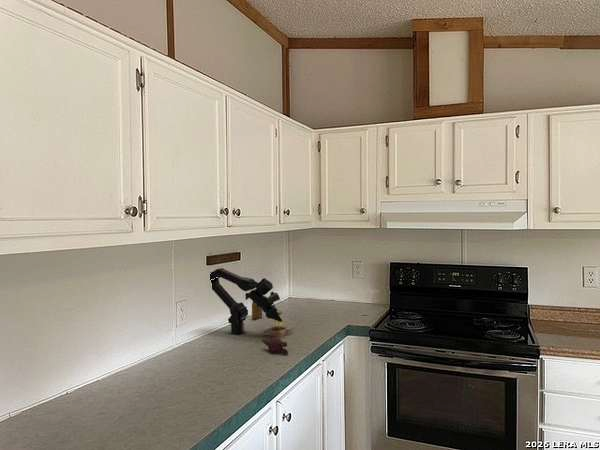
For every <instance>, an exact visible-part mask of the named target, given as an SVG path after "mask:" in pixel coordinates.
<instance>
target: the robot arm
mask: <svg viewBox="0 0 600 450" xmlns="http://www.w3.org/2000/svg"><path fill="white" fill-rule="evenodd" d="M210 273H211V274H210V280H211V279H214V278H215V279H214V280H211V283H212V289H211V290H212V291H213V292H214V294H216V295H217V297H218V298H219V299H220V300H221V301H222V302H223V303H224V304H225V306H227V308H228V310H229V313H230V316H229V317H228V318H227V320H228V323H229V324H230V331H231V332H229V334H230V335H237V336H239V335H242V334H245V333H246V331H245V324H244V321H246V319H247V318H248V316H249V310H248V307H247V306H246V305H245V304H244V302H237V301H236V300H235V299H234V298H233V297H232V296H231V294H229V292H228V291H227V290H226V289H225V288H224V287H223V286H222V285H221V284H220V278H221V279H224V280H226V281H229V282H231V283H233V284H235V285H236V286H237V287H238V289H240V290H242V291H244V292H246V293H245V301H247V300H248V299H250V300H251V301H253V302H254V303H255V304H257V306H258V307H260V308H261V309H262V313H264V315H265V317H266V318H267V319H268V320H269V319H271V320H277V321H280V322H282V323H283V318H282V319H281V317H280V316H279V315H278V313H277V310H278V308H277V307H276V304H275V302H277V301H280V300H281V297H280V296H279V293H278V292H274V291H271V290H273V288H274V286H273V283H272V282H270V280H268V279H267V278H266V277H263V278H261V280H260V281H259V282H258V281H256V280H255V279H254V278H251V277H244V276H240V275H238V274H236V273H234V272H230V271H229V270H227V269H225V268H224V267H221V268H216V269H215V270H214V271H211V272H210ZM216 277H218V278H216ZM248 291H249V292H248ZM270 291H271V292H270ZM269 292H270V295H269V296H266V295H267V294H268V293H269ZM253 302H252V303H253Z"/></svg>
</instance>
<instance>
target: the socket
mask: <svg viewBox="0 0 600 450" xmlns="http://www.w3.org/2000/svg"><path fill="white" fill-rule="evenodd" d="M273 326H274V327H271V328H268V329H266V330H264V335H265V336H271V337H277V338H284V337H286V336H287V335H290V334H292V333H293V327H290V326H283V325H282V330H281V331H277V330H275V325H273Z"/></svg>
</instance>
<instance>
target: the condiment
mask: <svg viewBox="0 0 600 450" xmlns="http://www.w3.org/2000/svg"><path fill="white" fill-rule="evenodd" d="M251 301H252V300H251ZM248 319H249V320H252V321H258V320H260V319H263V310H262V309H261V308H260V307H258V306H257V304H255V303H254V302H253V301H252V303H251V317H249V318H248Z"/></svg>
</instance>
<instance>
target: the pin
mask: <svg viewBox="0 0 600 450" xmlns="http://www.w3.org/2000/svg"><path fill="white" fill-rule="evenodd" d="M277 313H278V315H279V316H280V317H281V319H282V320H283V310H278V309H277ZM273 320H274V319H273ZM274 326H275V330H277V331H281V330H282V326H283V321H282V322H280V321H277V320H274Z"/></svg>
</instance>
